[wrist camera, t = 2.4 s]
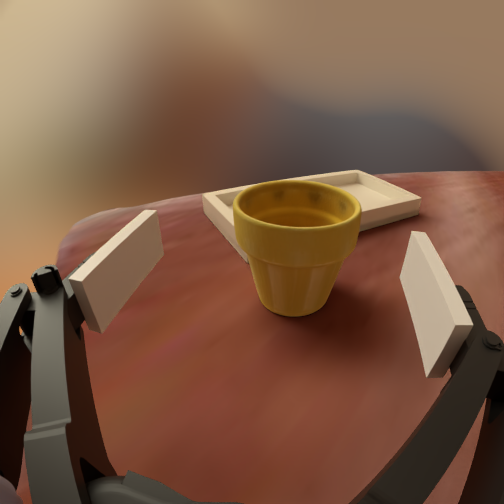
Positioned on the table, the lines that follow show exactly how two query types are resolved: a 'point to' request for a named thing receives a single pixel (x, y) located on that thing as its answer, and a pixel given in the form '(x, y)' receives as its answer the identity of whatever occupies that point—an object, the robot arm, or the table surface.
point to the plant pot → (295, 240)
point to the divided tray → (354, 182)
